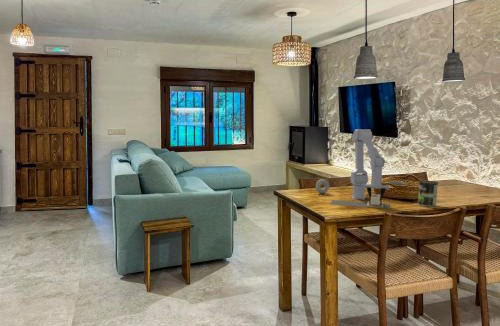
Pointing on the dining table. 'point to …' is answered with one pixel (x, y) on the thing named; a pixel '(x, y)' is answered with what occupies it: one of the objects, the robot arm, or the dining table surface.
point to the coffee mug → (397, 183)
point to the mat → (357, 204)
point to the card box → (375, 199)
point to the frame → (374, 205)
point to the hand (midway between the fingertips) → (375, 200)
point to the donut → (318, 186)
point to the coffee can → (427, 193)
